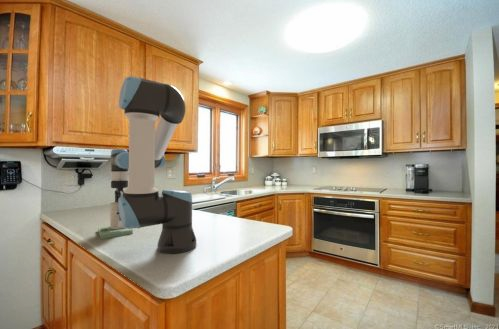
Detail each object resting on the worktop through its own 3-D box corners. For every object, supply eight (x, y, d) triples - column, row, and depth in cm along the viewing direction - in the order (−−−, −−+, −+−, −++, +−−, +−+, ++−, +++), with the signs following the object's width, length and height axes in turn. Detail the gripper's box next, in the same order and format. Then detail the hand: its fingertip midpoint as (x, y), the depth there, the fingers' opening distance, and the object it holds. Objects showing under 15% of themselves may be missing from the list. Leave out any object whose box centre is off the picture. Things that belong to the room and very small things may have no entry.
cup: (106, 228, 111) (106, 203, 111) (119, 224, 119) (119, 201, 119) (120, 229, 109) (120, 204, 110) (132, 224, 117) (132, 201, 117)
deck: (132, 233, 111) (132, 228, 111) (101, 239, 103) (101, 233, 103) (126, 226, 123) (126, 222, 123) (98, 231, 115) (98, 226, 115)
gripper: (131, 180, 108) (132, 228, 108) (124, 178, 125) (124, 220, 125) (113, 181, 104) (113, 231, 104) (108, 179, 120) (108, 222, 120)
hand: (119, 225), depth 114 cm, fingers closed on cup, 8 cm apart
